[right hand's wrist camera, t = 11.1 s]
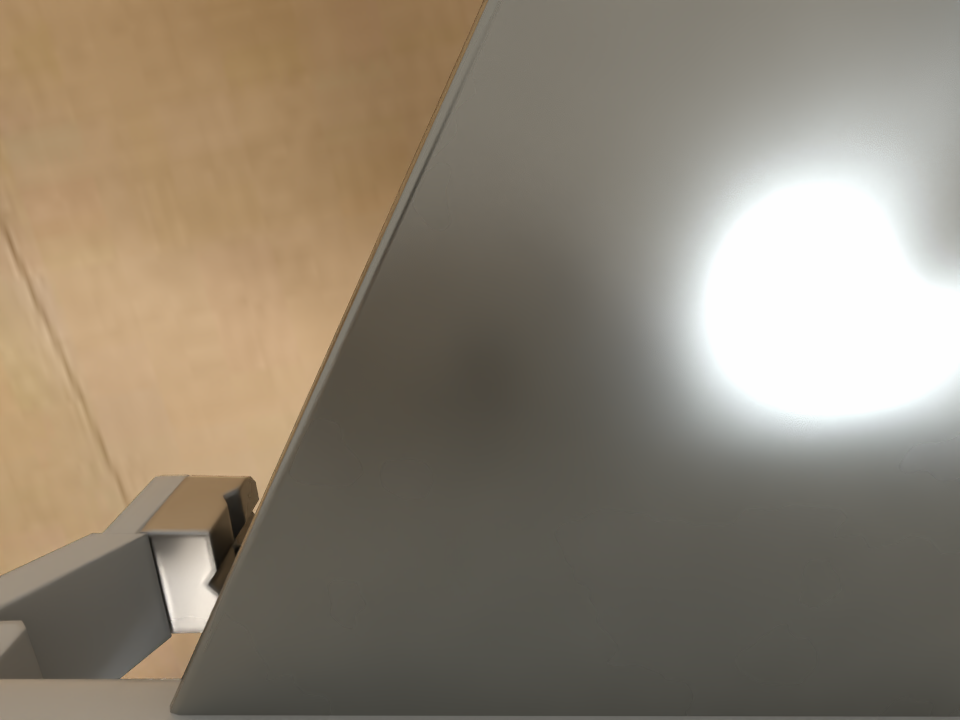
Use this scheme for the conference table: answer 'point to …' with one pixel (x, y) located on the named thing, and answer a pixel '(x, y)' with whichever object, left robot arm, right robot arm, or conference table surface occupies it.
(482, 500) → the box
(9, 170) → the conference table surface
